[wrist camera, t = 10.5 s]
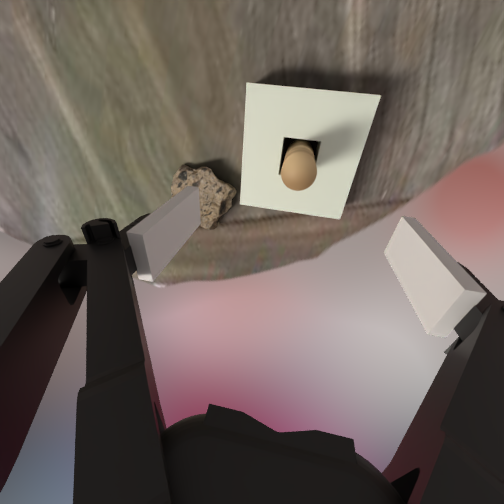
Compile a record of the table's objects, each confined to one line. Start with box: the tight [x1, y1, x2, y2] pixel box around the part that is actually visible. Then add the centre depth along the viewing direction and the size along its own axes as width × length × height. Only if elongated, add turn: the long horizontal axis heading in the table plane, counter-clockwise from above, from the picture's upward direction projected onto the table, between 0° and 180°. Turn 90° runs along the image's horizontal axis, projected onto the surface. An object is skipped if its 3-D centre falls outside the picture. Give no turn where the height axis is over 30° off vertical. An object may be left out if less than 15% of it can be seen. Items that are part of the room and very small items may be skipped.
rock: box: [171, 165, 237, 230], centre depth 40 cm, size 11×11×4 cm
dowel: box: [281, 139, 317, 191], centre depth 31 cm, size 4×4×12 cm
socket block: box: [240, 83, 381, 219], centre depth 34 cm, size 16×16×4 cm
